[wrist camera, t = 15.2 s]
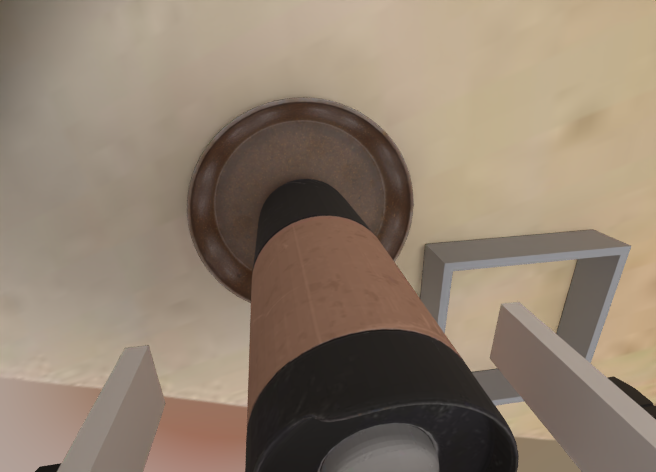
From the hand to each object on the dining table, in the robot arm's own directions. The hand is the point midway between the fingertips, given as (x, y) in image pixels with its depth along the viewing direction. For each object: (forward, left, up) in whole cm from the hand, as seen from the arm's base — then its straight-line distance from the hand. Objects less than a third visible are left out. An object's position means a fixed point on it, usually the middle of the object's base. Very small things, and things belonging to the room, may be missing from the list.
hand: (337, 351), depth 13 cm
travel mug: (0, 0, -15) cm, 15 cm away
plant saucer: (0, 0, -19) cm, 19 cm away
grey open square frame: (+20, -13, -18) cm, 30 cm away
